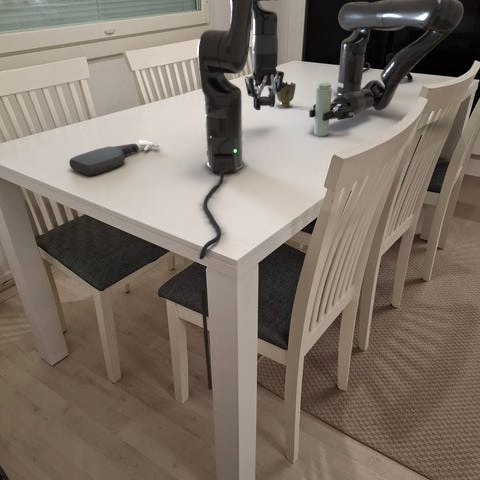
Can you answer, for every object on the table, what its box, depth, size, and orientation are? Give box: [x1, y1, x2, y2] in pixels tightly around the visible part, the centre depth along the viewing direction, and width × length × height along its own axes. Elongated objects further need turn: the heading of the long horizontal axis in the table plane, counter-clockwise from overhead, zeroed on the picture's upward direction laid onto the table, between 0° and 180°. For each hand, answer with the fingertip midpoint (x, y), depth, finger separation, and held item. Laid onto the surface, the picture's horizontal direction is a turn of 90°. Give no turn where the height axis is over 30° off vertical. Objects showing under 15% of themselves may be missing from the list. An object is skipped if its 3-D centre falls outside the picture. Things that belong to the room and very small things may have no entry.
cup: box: [275, 81, 297, 108], centre depth 166 cm, size 8×7×8 cm
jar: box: [313, 82, 333, 137], centre depth 137 cm, size 4×4×15 cm
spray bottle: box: [68, 139, 160, 177], centre depth 124 cm, size 3×11×24 cm
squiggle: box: [385, 52, 414, 81], centre depth 198 cm, size 11×10×15 cm
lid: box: [260, 95, 273, 107], centre depth 139 cm, size 5×5×2 cm
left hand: (264, 107), depth 141 cm, fingers closed on lid, 5 cm apart
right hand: (317, 115), depth 136 cm, fingers closed on jar, 4 cm apart
